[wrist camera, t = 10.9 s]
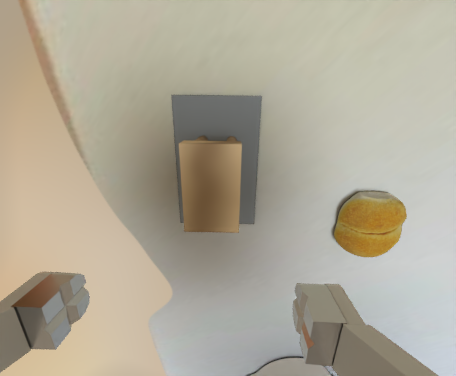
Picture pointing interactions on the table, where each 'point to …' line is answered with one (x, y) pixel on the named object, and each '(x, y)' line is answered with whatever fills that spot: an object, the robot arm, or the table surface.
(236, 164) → the stool
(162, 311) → the table surface
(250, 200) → the mat
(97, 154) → the table surface
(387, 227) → the bread roll
